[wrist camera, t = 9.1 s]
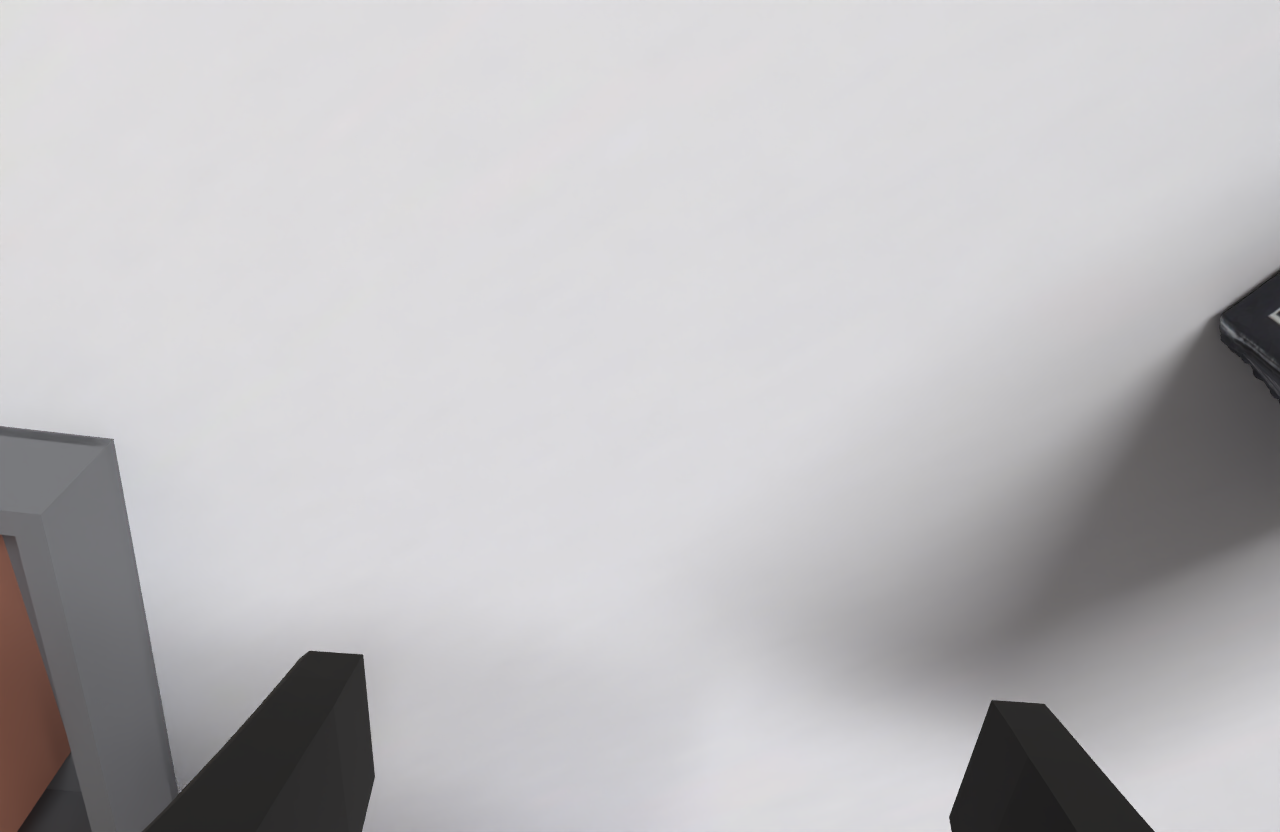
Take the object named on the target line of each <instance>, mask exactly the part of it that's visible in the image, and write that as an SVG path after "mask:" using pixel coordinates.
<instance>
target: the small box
mask: <svg viewBox="0 0 1280 832" xmlns="http://www.w3.org/2000/svg"><path fill="white" fill-rule="evenodd" d="M1220 333H1221V335H1220V336H1221V341H1222V342H1224V343H1225V344H1226V345H1227V346H1228V348H1230V350H1231V351H1232V352H1234V353H1236V354H1237V355H1238V356H1239V357H1242V360H1243V361H1244V362H1245V363H1247V364H1250V365H1251V366H1252V368H1253V374H1254V376H1255V377H1256V378H1258V379H1260V380H1263V381H1264V382H1265V384H1266V385H1267V387H1268V388H1269V389H1270V393H1271V394H1272V396H1273V397H1274V398H1277V399H1279V403H1280V273H1279V274H1278V275H1276V276H1275V277H1273V278H1272V279H1270V280H1268V281H1267V282H1266V283H1264V284H1263V285H1262V286H1260V287H1259V288H1258V289H1257V290H1255V291H1254V292H1252V293H1251V294H1250V295H1248V296H1247V297H1246V298H1244V299H1243V300H1241V301H1240V302H1239V303H1237V304H1236V305H1235V306H1233V307H1232V308H1230V309H1229V310H1227V311H1226V312H1224V313H1223V314H1222V315H1221V320H1220Z"/></svg>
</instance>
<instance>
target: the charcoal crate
mask: <svg viewBox="0 0 1280 832" xmlns="http://www.w3.org/2000/svg"><path fill="white" fill-rule="evenodd" d="M0 535H2V536H3V539H4V543H5V546H6V549H7V552H8V555H9V558H10V561H11V564H12V567H13V570H14V573H15V577H16V580H17V583H18V586H19V589H20V592H21V595H22V598H23V601H24V604H25V607H26V611H27V614H28V617H29V620H30V623H31V626H32V629H33V632H34V635H35V638H36V641H37V645H38V648H39V651H40V654H41V657H42V660H43V663H44V666H45V669H46V672H47V675H48V679H49V682H50V685H51V688H52V691H53V694H54V697H55V700H56V703H57V706H58V709H59V713H60V716H61V719H62V722H63V725H64V728H65V731H66V734H67V738H68V742H69V746H70V749H71V752H70V754H69V755H68V757H67V758H66V760H65V761H64V763H63V764H62V766H61V767H60V769H59V770H58V772H57V773H56V775H55V776H54V778H53V779H52V780H51V782H50V783H49V785H48V786H47V788H46V789H45V791H44V792H43V794H42V795H41V797H40V798H39V800H38V801H37V803H36V804H35V806H34V807H33V809H32V810H31V812H30V813H29V815H28V816H27V818H26V819H25V821H24V822H23V824H22V825H21V827H20V828H19V830H18V831H17V832H142V831H143V830H144V829H145V828H146V827H147V826H148V825H149V824H150V823H151V822H152V821H153V820H154V819H155V818H156V817H157V816H158V815H159V814H160V813H161V812H162V811H163V810H164V809H165V808H166V807H167V806H168V805H169V804H170V803H171V802H172V801H173V800H174V799H175V798H176V796H177V795H178V789H177V784H176V779H175V773H174V768H173V762H172V757H171V751H170V746H169V740H168V735H167V729H166V724H165V718H164V713H163V707H162V702H161V696H160V691H159V686H158V680H157V675H156V669H155V664H154V658H153V653H152V647H151V642H150V636H149V631H148V625H147V620H146V614H145V609H144V604H143V598H142V593H141V587H140V582H139V576H138V571H137V565H136V560H135V554H134V549H133V543H132V538H131V532H130V527H129V522H128V516H127V511H126V505H125V500H124V494H123V489H122V483H121V478H120V472H119V467H118V461H117V456H116V450H115V445H114V439H109V438H100V437H91V436H82V435H74V434H65V433H56V432H47V431H39V430H30V429H21V428H12V427H4V426H0Z"/></svg>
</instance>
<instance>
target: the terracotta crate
mask: <svg viewBox="0 0 1280 832" xmlns="http://www.w3.org/2000/svg"><path fill="white" fill-rule="evenodd" d="M70 752H71V749H70V746H69V742H68V738H67V734H66V731H65V728H64V725H63V722H62V719H61V716H60V713H59V709H58V706H57V703H56V700H55V697H54V694H53V691H52V688H51V685H50V682H49V679H48V675H47V672H46V669H45V666H44V663H43V660H42V657H41V654H40V651H39V648H38V645H37V641H36V638H35V635H34V632H33V629H32V626H31V623H30V620H29V617H28V614H27V611H26V607H25V604H24V601H23V598H22V595H21V592H20V589H19V586H18V583H17V580H16V577H15V573H14V570H13V567H12V564H11V561H10V558H9V555H8V552H7V549H6V546H5V543H4V539H3V536H2V535H0V832H17V831H18V830H19V828H20V827H21V825H22V824H23V822H24V821H25V819H26V818H27V816H28V815H29V813H30V812H31V810H32V809H33V807H34V806H35V804H36V803H37V801H38V800H39V798H40V797H41V795H42V794H43V792H44V791H45V789H46V788H47V786H48V785H49V783H50V782H51V780H52V779H53V778H54V776H55V775H56V773H57V772H58V770H59V769H60V767H61V766H62V764H63V763H64V761H65V760H66V758H67V757H68V755H69V754H70Z"/></svg>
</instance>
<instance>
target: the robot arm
mask: <svg viewBox="0 0 1280 832" xmlns="http://www.w3.org/2000/svg"><path fill="white" fill-rule="evenodd" d="M374 778H375V773H374V763H373V753H372V742H371V732H370V721H369V711H368V701H367V690H366V680H365V669H364V659H363V655H360V654H346V653H332V652H318V651H309V652H307V653H306V654H305V655H303V656H302V657H301V658H300V659H299V660H298V661H297V662H296V664H295V665H294V666H293V667H292V668H291V670H290V671H289V672H288V673H287V674H286V676H285V677H284V678H283V679H282V680H281V681H280V683H279V684H278V685H277V686H276V687H275V688H274V690H273V691H272V692H271V693H270V694H269V695H268V697H267V698H266V699H265V700H264V701H263V702H262V704H261V705H260V706H259V707H258V708H257V709H256V710H255V712H254V713H253V714H252V715H251V716H250V717H249V718H248V720H247V721H246V722H245V723H244V724H243V725H242V726H241V727H240V729H239V730H238V731H237V732H236V733H235V734H234V735H233V736H232V737H231V739H230V740H229V741H228V742H227V743H226V744H225V745H224V746H223V748H222V749H221V750H220V751H219V752H218V753H217V754H216V755H215V756H214V757H213V758H212V759H211V760H210V761H209V763H208V764H207V765H206V766H205V767H204V768H203V769H202V770H201V771H200V772H199V773H198V774H197V775H196V776H195V777H194V778H193V779H192V781H191V782H190V783H189V784H188V785H187V786H186V787H185V788H184V789H183V790H182V791H181V792H180V793H179V794H178V795H177V796H176V798H175V799H174V800H173V801H172V802H171V803H170V804H169V805H168V806H167V807H166V808H165V809H164V810H163V811H162V812H161V813H160V814H159V815H158V816H157V817H156V818H155V819H154V820H153V821H152V822H151V823H150V824H149V825H148V826H147V827H146V828H145V829H144V830H143V831H142V832H362V829H363V825H364V820H365V816H366V812H367V808H368V803H369V799H370V795H371V791H372V786H373V782H374ZM949 819H950V824H951V830H952V832H1154V830H1153V829H1152V828H1151V827H1150V826H1149V825H1148V824H1147V823H1146V821H1145V820H1144V819H1143V818H1142V817H1141V816H1140V815H1139V813H1138V812H1137V811H1136V810H1135V809H1134V808H1133V806H1132V805H1131V804H1130V803H1129V802H1128V801H1127V799H1126V798H1125V797H1124V796H1123V795H1122V794H1121V793H1120V791H1119V790H1118V789H1117V788H1116V787H1115V786H1114V784H1113V783H1112V782H1111V781H1110V780H1109V779H1108V777H1107V776H1106V775H1105V774H1104V773H1103V772H1102V770H1101V769H1100V768H1099V767H1098V766H1097V765H1096V763H1095V762H1094V761H1093V760H1092V759H1091V757H1090V756H1089V755H1088V754H1087V753H1086V752H1085V750H1084V749H1083V748H1082V747H1081V746H1080V745H1079V743H1078V742H1077V741H1076V740H1075V739H1074V738H1073V736H1072V735H1071V734H1070V733H1069V732H1068V730H1067V729H1066V728H1065V727H1064V726H1063V725H1062V723H1061V722H1060V721H1059V720H1058V719H1057V718H1056V717H1055V715H1054V714H1053V713H1052V712H1051V711H1050V710H1049V709H1048V707H1047V706H1046V705H1045V704H1038V703H1024V702H1010V701H996V700H992V701H991V703H990V706H989V709H988V712H987V714H986V717H985V720H984V723H983V725H982V728H981V731H980V734H979V736H978V739H977V742H976V745H975V747H974V750H973V753H972V756H971V758H970V761H969V764H968V767H967V769H966V772H965V775H964V778H963V780H962V783H961V786H960V789H959V791H958V794H957V797H956V800H955V802H954V805H953V808H952V811H951V813H950V816H949Z"/></svg>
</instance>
